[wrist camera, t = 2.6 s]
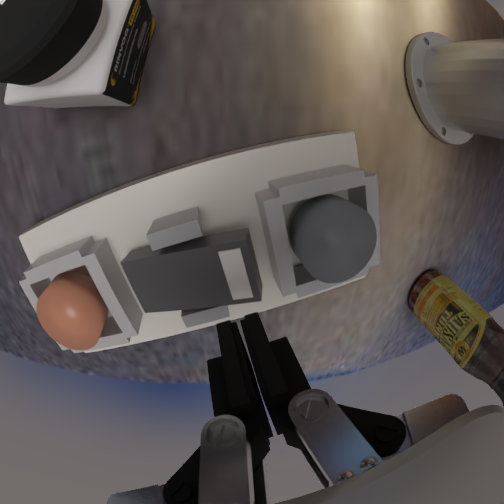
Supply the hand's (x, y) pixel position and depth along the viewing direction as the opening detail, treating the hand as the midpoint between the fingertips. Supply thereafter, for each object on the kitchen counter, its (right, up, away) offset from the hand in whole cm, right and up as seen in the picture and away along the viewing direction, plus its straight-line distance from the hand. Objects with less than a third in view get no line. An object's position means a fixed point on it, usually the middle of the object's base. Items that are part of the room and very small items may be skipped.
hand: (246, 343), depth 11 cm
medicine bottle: (-11, +18, +3) cm, 21 cm away
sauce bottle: (+22, -1, +18) cm, 28 cm away
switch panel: (-4, +4, +10) cm, 12 cm away
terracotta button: (-12, 0, +6) cm, 13 cm away
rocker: (-4, +2, +6) cm, 7 cm away
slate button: (+5, +5, +7) cm, 10 cm away
